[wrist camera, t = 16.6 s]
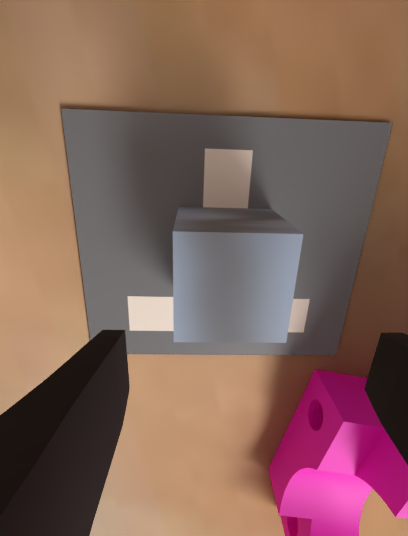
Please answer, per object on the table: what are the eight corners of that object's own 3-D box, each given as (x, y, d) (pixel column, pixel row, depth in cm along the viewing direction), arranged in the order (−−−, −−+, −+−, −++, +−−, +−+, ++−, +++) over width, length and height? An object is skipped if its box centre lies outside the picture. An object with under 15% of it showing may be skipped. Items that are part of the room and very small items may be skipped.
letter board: (390, 122, 15) (393, 122, 15) (334, 353, 20) (336, 355, 20) (62, 109, 14) (60, 108, 14) (93, 351, 20) (91, 354, 19)
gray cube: (271, 208, 16) (303, 234, 12) (262, 292, 18) (286, 342, 13) (178, 206, 16) (172, 231, 11) (178, 291, 18) (173, 342, 13)
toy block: (313, 366, 21) (373, 476, 14) (394, 381, 22) (489, 492, 15) (250, 502, 26) (271, 629, 19) (317, 510, 27) (360, 636, 20)
